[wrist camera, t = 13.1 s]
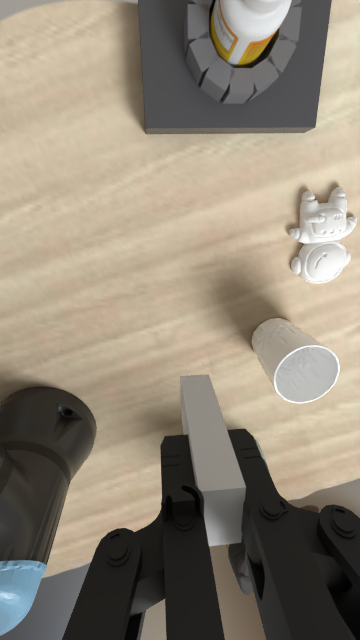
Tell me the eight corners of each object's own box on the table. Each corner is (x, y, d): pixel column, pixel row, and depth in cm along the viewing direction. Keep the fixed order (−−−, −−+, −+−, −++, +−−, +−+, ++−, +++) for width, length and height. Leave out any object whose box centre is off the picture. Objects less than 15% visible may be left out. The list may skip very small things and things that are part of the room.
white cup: (252, 311, 41) (282, 342, 31) (305, 315, 42) (348, 346, 32) (242, 360, 43) (267, 402, 34) (291, 363, 44) (328, 404, 35)
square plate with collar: (146, 134, 32) (144, 120, 26) (135, -44, 26) (131, -104, 21) (303, 132, 33) (331, 119, 28) (323, -37, 28) (361, -92, 23)
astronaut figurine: (357, 186, 36) (375, 185, 33) (342, 280, 40) (356, 285, 38) (290, 189, 35) (302, 188, 33) (282, 284, 40) (292, 290, 37)
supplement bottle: (269, 16, 27) (327, -82, 18) (250, 84, 29) (295, 27, 20) (214, -5, 26) (246, -120, 17) (199, 66, 28) (220, -2, 19)
